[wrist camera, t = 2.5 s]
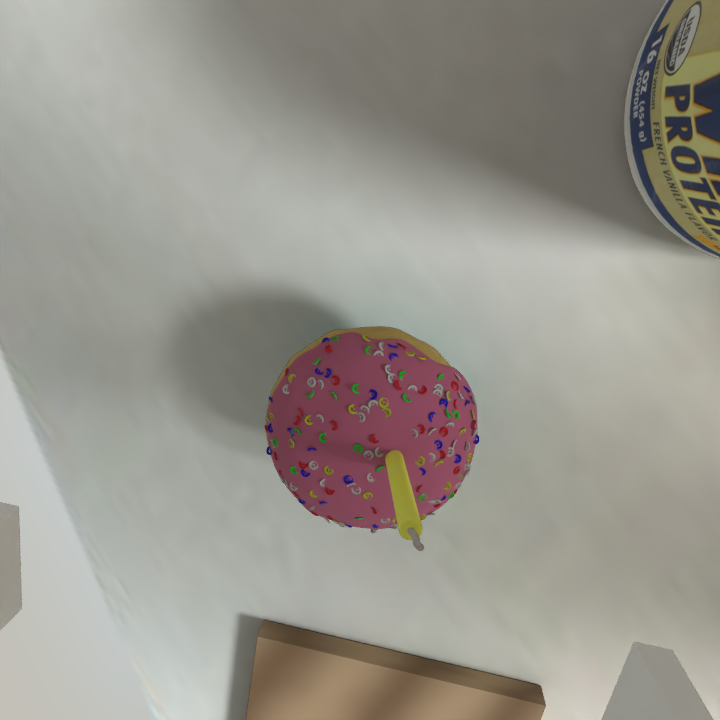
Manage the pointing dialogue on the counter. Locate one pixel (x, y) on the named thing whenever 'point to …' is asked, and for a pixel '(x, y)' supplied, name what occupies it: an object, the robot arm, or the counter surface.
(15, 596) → the robot arm
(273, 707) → the cutting board
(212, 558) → the counter surface
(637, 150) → the supplement tub
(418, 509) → the cupcake
